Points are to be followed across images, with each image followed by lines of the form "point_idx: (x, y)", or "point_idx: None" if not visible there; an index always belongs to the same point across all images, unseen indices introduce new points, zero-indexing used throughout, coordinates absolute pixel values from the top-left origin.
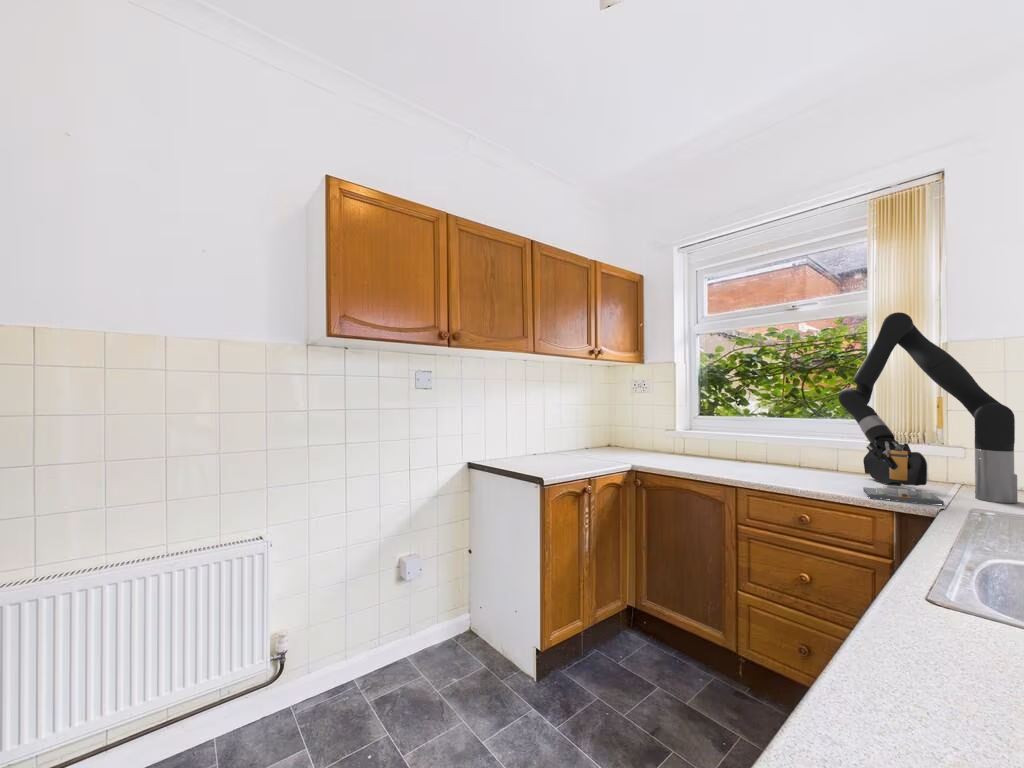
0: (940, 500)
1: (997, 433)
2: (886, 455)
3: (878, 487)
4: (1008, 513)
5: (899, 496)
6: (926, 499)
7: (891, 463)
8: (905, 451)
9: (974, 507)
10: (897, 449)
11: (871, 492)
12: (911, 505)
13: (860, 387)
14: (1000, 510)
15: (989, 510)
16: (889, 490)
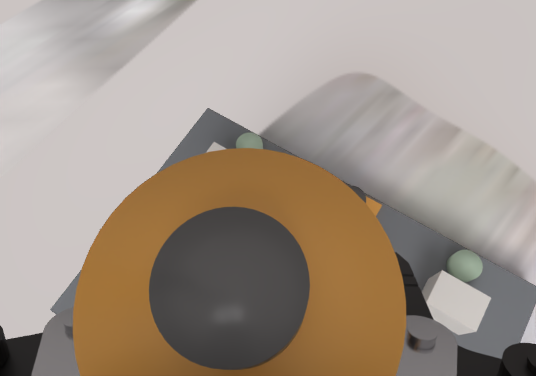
0: (207, 123)
1: None
2: (455, 358)
3: (470, 308)
4: (52, 11)
5: (379, 210)
6: (269, 142)
7: (403, 273)
8: (194, 175)
9: (79, 98)
10: (292, 253)
11: (492, 340)
12: (384, 127)
13: None
14: (21, 53)
15: (74, 51)
16: None
